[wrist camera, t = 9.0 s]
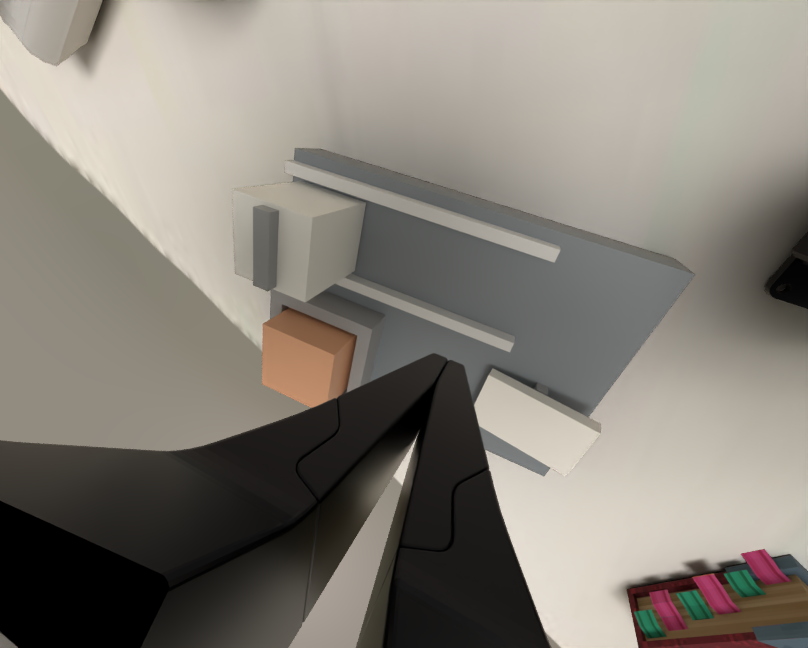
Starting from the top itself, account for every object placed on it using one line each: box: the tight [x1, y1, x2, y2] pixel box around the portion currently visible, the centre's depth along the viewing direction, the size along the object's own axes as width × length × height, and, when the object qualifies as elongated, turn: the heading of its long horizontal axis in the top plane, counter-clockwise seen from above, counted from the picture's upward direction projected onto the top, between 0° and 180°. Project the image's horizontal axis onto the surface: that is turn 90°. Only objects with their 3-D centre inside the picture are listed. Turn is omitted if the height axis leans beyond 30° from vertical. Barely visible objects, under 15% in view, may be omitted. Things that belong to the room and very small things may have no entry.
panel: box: [270, 148, 695, 476], centre depth 20 cm, size 20×14×4 cm
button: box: [262, 308, 357, 408], centre depth 21 cm, size 5×5×4 cm
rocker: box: [474, 368, 601, 477], centre depth 19 cm, size 6×4×1 cm, turn 76°
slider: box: [232, 181, 366, 302], centre depth 17 cm, size 4×4×6 cm
